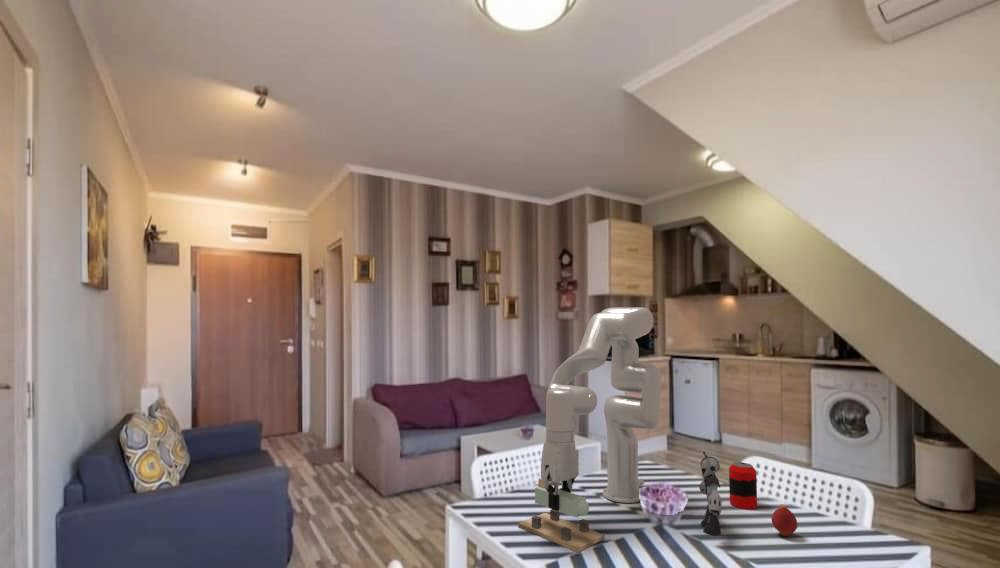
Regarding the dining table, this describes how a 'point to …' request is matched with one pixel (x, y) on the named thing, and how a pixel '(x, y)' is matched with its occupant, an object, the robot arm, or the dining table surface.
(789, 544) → the dining table surface
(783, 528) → the onion
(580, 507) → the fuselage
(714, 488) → the robot
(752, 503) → the soda can
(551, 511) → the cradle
